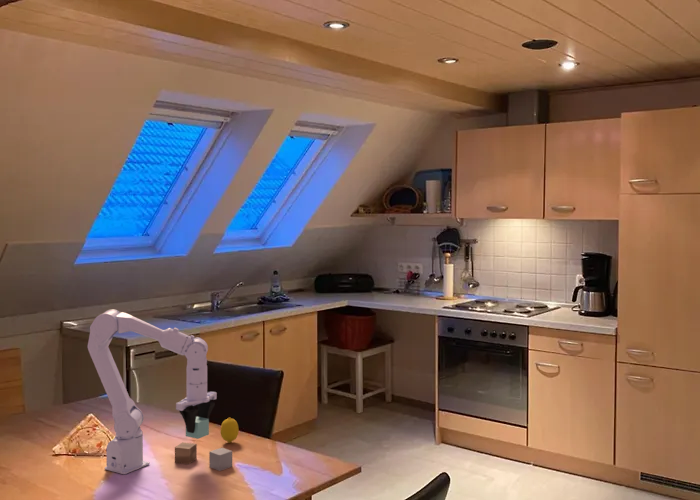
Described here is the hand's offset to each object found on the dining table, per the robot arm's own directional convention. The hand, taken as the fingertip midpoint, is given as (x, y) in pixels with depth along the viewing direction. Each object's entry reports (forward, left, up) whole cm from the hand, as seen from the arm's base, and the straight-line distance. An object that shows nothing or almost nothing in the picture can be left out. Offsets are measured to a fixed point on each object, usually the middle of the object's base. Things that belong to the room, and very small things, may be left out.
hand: (197, 429), depth 196 cm
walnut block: (+1, +5, -10) cm, 11 cm away
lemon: (+19, +4, -10) cm, 22 cm away
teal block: (0, 0, -2) cm, 2 cm away
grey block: (+2, -7, -10) cm, 12 cm away
